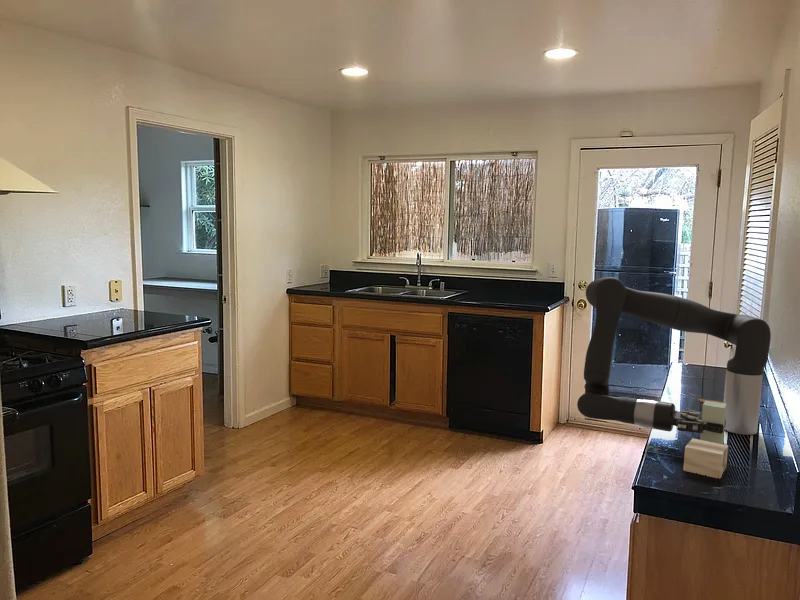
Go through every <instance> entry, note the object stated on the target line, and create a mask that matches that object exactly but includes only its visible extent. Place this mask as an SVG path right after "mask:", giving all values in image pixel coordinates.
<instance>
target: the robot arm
mask: <svg viewBox="0 0 800 600" xmlns="http://www.w3.org/2000/svg"><path fill="white" fill-rule="evenodd" d="M585 298H586V300H587V302H588V303H589V304H590V306H592V307H593V308H595V314H596V315H595V323H594V327H593V331H592V335H591V337H590V340H589V343H588V346H587V350H586V354H585V359H584V368H583V369H584V370H583V380H584V381H585V388H584V393H583V394H582V395H581V396H579V398H578V400H577V404H576V406H577V410H578V411H579V413H580V414H581V415H582V416H584V417H586V418H589V419H593V420H602V421H603V420H604V421H616V422H618V423H619V422H620V423H624V424H629V425H635V426H639V427H643V428H646V429H652V430H658V431H664V432H672V431H673V428H674V427H677V428H676V429H677V431H678V432H688V433H697V434H700V433H703V432H706V430H707V431H710V432H715V433H723V430H724V429H725V430H724V431H726V430H727V431H726V432H729V433H733V434H737V435H747V436H750V435H751V436H753V435H756V434H757V433H758V426H759V425H758V424H759V419H760V418H759V416H760V407H761V395H762V385H763V378H764V376H763V375H764V369H765V367H766V366H767V363H768V359H769V353H770V346H771V337H772V334H771V333H772V332H771V328H770V325H769V324H768V323H767V322H766V321H765V320H764V319H761V318H759V317H754V316H751V315H747V314H739V313H732V312H731V313H730V312H727V311H720V310H716V309H713V308H710V307H708V306H706V305H703V304H702V303H699V302H697V301H694V300H691V299H688V298H686V297H685V298H684V297H681V296H678V295H677V296H676V295H673V294H668V293H661V292H654V291H645V290H637V289H633V288H630V287H627V286H626V285H624V282H623V281H621V280H620V279H618V278H617V277H611V276H607V277H606V276H605V277H600V278H596V279H594V280H593V281H591V282H590V283H588V285H587V287H586V290H585ZM621 314H626V315H629V316H634V317H635V318H639V319H642V320H644V321H647V322H650V323H653V324H655V325H659V326H662V327H665V328H669V329H673V330H675V331H676V330H677V331H679V332H680V331H681V332H686V333H693V334H696V333H697V334H705V335H708V336H712V337H715V338H718V339H721V340H723V341H725V342H727V343H730V344H732V345H735V351H734V356H733V358H731V359H729V360H727V363H726V371H725V372H726V373H725V382H724V383H725V384H724V392H723V393H724V394H723V402H724V403H725V404H726V414H725V425H722V424H717V423H711V422H708V423H707V422H706V421H702V411H698V410H697V411H696V410H694V409H693V410H692V409H690V408H685V409H684V410H682V411H678V410H676V405H675V404H674V403H673V402H666V401H660V400H654V399H646V398H644V399H643V398H636V397H629V396H610V394H609V393H610V386H609V385H610V384H609V381H610V376H611V366H612V358H613V351H614V344H615V340H616V333H617V330H618V326H619V323H620V318H621Z"/></svg>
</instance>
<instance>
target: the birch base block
mask: <svg viewBox="0 0 800 600" xmlns="http://www.w3.org/2000/svg"><path fill="white" fill-rule="evenodd" d="M728 453H729V445H728V444H724V443H723V444H718V443H713V442H708V441H703V440H700V439H698V438H691V440H689V442H688V443H687V444H686V445H685V446H684V458H683V470H682V471H684V472H689V473H693V474H696V473H697V475H702V476H705V475H706V477H710V478H715V479H718V478H719V480H720V479H722V476H723V475H724V473H725V472H724V471H726V470H727V462H728V461H727V460H728ZM725 469H726V470H725ZM723 472H724V473H723ZM722 474H723V475H722Z"/></svg>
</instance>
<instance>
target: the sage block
mask: <svg viewBox="0 0 800 600" xmlns="http://www.w3.org/2000/svg"><path fill="white" fill-rule="evenodd" d="M701 412H702V418H701V419H702V421H706V422H707V423H708V422H711V423H717V424H722V425H725V414H726V404H725V403H718V402H712V401H705V402H704V403H702V411H701ZM699 434H700V435H699V440H703V441H708V442H713V443H718V444H723V445H724V435H725V430H723V433H715V432H710V431H707V430H706V432H703V433H699Z"/></svg>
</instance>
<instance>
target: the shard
mask: <svg viewBox="0 0 800 600" xmlns="http://www.w3.org/2000/svg"><path fill="white" fill-rule="evenodd" d="M697 400H698V402H699V401H700V402H699V403H702V402H703V403H702V404H704V402H705V401H712V402H718V403H724V401H721V400H712V399H705V398H698V397H697Z"/></svg>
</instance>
